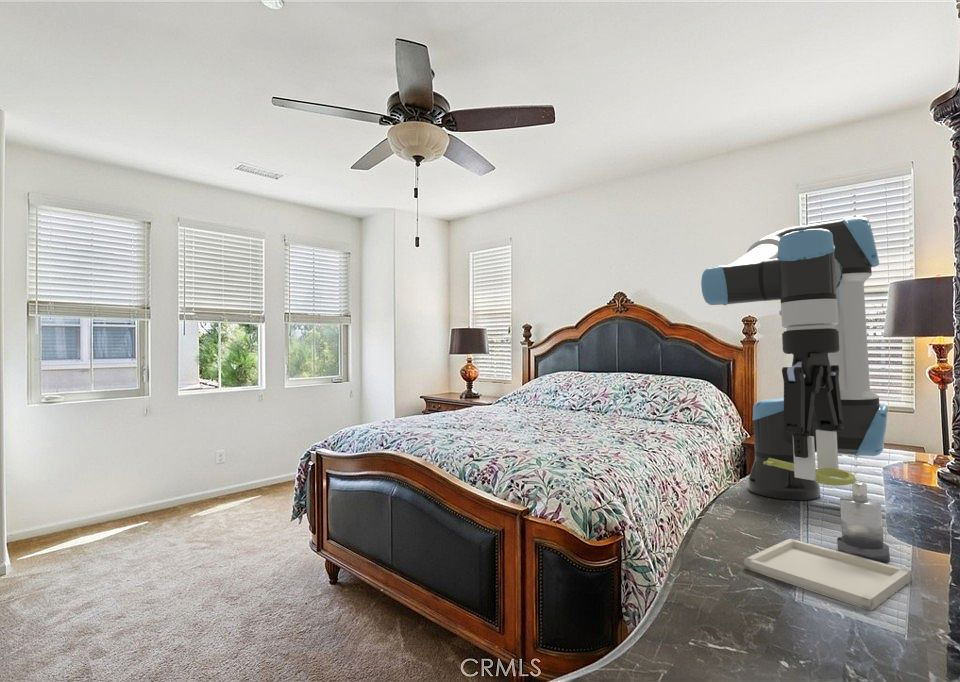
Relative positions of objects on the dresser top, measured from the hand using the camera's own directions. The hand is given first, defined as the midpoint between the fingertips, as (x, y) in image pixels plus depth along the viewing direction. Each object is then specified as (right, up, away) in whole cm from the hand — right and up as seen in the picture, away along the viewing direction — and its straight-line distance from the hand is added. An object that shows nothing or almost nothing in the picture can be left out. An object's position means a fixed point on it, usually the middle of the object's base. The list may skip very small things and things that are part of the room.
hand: (817, 474), depth 79 cm
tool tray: (+1, -15, -1) cm, 15 cm away
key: (-1, -1, +1) cm, 1 cm away
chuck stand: (+12, -15, +6) cm, 20 cm away
